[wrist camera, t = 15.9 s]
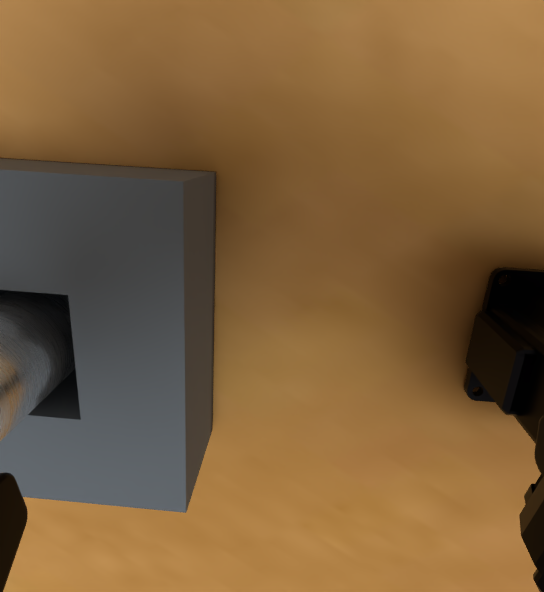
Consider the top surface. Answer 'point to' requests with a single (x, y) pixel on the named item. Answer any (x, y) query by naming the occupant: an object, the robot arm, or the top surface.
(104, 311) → the slate socket block
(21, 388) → the aluminium peg
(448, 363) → the top surface
